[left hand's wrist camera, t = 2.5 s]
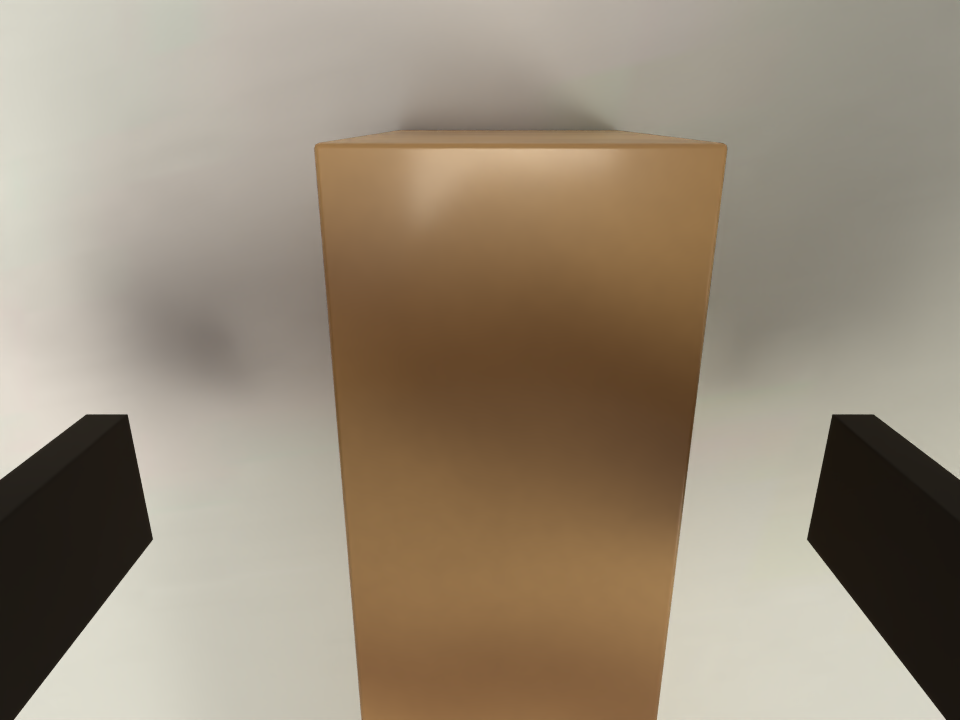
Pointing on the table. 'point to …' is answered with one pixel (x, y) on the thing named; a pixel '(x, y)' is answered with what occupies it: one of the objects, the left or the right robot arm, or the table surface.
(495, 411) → the post
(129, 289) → the table surface
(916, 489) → the left robot arm
